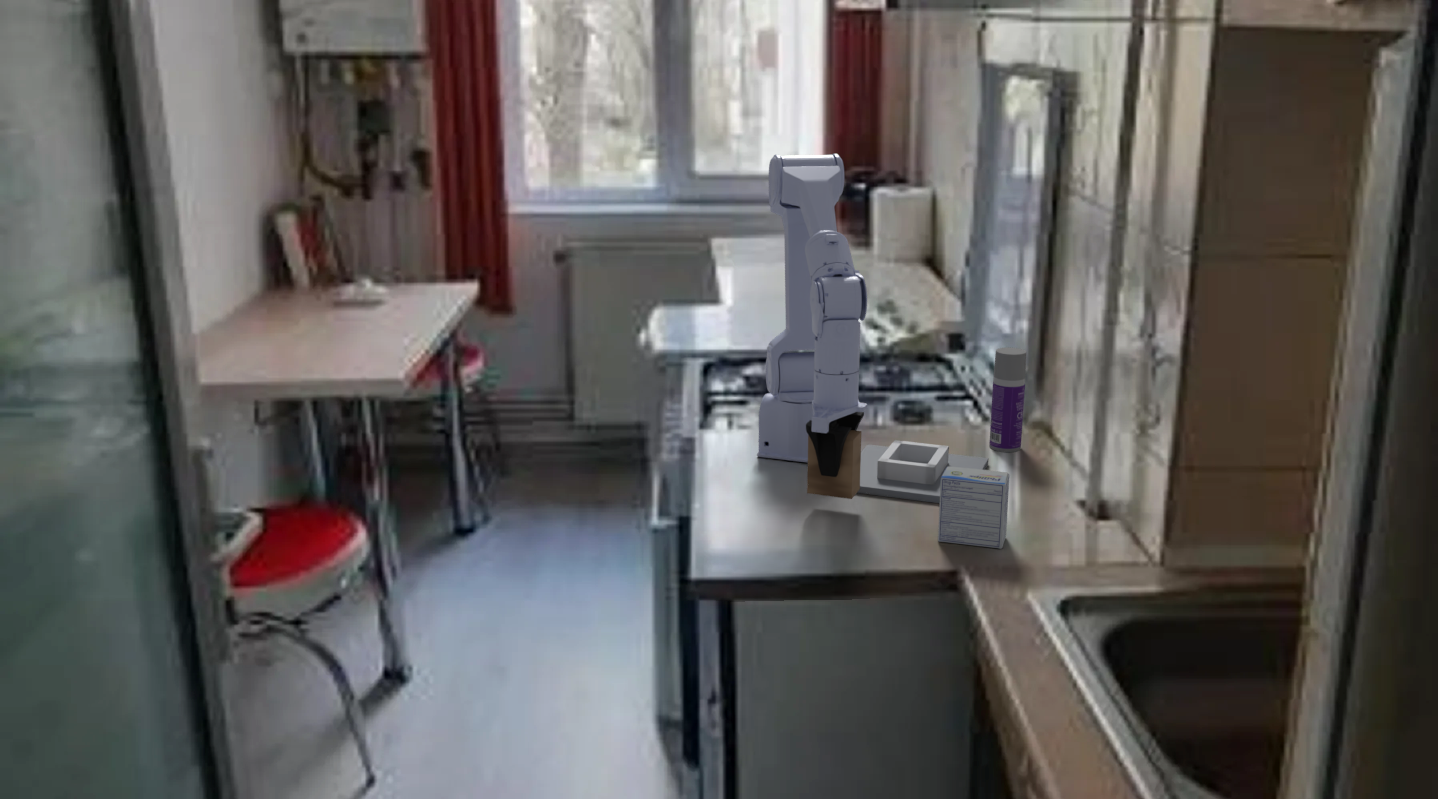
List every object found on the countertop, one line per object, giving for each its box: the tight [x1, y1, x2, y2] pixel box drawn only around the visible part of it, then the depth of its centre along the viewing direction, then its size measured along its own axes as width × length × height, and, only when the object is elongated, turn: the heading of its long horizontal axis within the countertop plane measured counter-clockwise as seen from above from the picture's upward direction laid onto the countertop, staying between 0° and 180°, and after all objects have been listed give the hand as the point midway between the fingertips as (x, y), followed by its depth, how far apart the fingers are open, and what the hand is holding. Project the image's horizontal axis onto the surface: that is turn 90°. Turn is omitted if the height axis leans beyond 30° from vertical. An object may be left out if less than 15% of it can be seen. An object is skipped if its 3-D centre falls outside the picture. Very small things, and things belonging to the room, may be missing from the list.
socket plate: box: [856, 439, 989, 504], centre depth 179 cm, size 18×18×4 cm
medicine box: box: [937, 466, 1011, 550], centre depth 156 cm, size 8×4×9 cm, turn 71°
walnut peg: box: [806, 430, 862, 500], centre depth 166 cm, size 6×4×8 cm, turn 69°
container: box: [988, 346, 1027, 453], centre depth 190 cm, size 5×5×15 cm
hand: (834, 469), depth 166 cm, fingers closed on walnut peg, 4 cm apart
